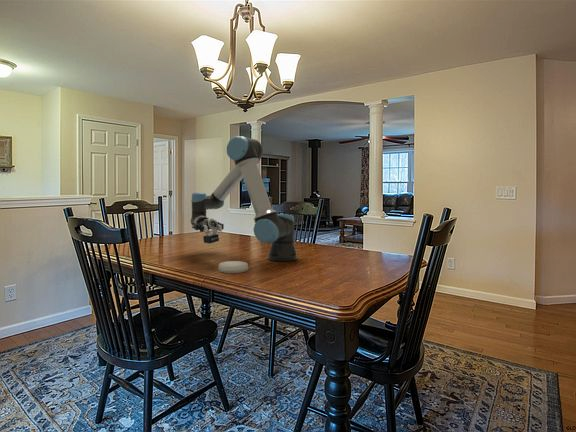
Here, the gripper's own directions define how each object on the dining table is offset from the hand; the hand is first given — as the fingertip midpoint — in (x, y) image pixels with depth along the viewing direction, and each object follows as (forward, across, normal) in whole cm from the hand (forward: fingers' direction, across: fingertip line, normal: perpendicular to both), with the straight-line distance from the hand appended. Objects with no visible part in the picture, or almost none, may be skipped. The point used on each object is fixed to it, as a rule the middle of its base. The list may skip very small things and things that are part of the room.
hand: (213, 229), depth 165 cm
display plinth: (+7, -7, -18) cm, 21 cm away
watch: (-5, 0, -7) cm, 9 cm away
